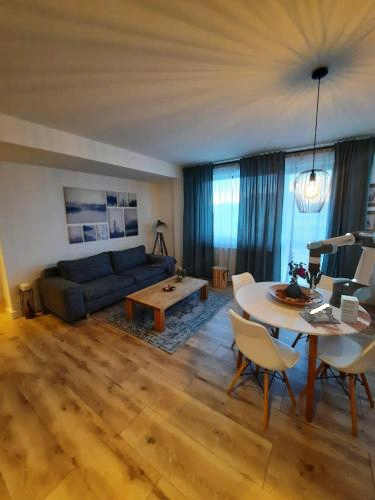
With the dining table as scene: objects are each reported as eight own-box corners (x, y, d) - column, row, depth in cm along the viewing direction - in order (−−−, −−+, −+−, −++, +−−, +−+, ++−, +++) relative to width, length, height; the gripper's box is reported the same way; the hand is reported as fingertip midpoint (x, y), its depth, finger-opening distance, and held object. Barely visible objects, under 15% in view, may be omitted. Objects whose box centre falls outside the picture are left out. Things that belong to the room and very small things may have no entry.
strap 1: (325, 309, 158) (326, 308, 158) (328, 311, 155) (329, 310, 155) (309, 300, 158) (310, 299, 158) (311, 302, 155) (312, 300, 155)
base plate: (327, 313, 161) (328, 304, 159) (340, 323, 146) (341, 313, 145) (298, 313, 162) (298, 304, 161) (307, 322, 148) (308, 313, 146)
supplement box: (339, 315, 157) (341, 294, 155) (354, 318, 153) (356, 296, 150) (340, 321, 149) (342, 299, 147) (356, 324, 145) (359, 301, 142)
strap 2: (310, 316, 149) (310, 314, 148) (308, 314, 152) (307, 312, 152) (330, 306, 146) (329, 305, 146) (327, 305, 150) (326, 303, 149)
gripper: (320, 261, 155) (318, 291, 159) (302, 261, 156) (300, 291, 160) (326, 263, 148) (324, 294, 151) (307, 263, 149) (305, 294, 152)
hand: (312, 292), depth 155 cm, fingers closed
